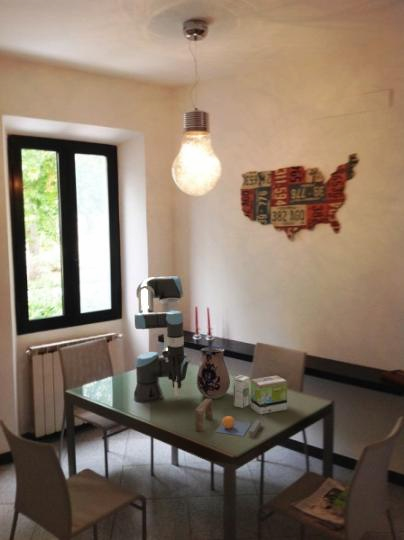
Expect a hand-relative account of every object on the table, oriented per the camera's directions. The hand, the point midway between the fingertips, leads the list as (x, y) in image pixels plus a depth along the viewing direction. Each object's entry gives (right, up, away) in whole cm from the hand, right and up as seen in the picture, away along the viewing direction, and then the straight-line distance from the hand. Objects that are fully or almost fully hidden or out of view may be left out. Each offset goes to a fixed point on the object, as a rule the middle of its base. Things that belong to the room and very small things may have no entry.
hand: (177, 394), depth 227 cm
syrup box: (+31, -10, +17) cm, 37 cm away
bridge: (+12, -13, -4) cm, 18 cm away
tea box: (+44, -10, +12) cm, 47 cm away
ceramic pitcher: (+18, -9, +32) cm, 38 cm away
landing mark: (+26, -13, -9) cm, 30 cm away
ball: (+23, -10, -9) cm, 27 cm away
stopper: (+35, -13, -12) cm, 39 cm away
